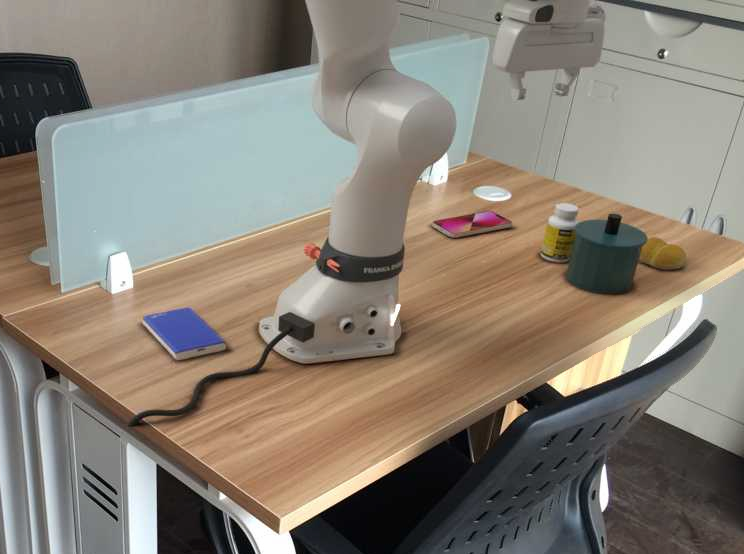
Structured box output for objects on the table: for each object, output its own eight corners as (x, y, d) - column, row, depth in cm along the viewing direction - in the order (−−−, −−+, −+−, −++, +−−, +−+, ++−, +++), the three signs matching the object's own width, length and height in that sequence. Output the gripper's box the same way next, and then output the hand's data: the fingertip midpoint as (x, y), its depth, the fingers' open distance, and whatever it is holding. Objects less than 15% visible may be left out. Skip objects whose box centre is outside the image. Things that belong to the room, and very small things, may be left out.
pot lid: (609, 256, 157) (616, 233, 154) (558, 231, 165) (563, 208, 163) (661, 246, 162) (667, 223, 159) (608, 221, 170) (614, 199, 168)
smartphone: (430, 221, 186) (490, 210, 192) (429, 226, 187) (489, 214, 192) (453, 234, 181) (514, 222, 186) (452, 239, 181) (513, 227, 187)
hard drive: (142, 316, 146) (175, 351, 137) (190, 306, 149) (226, 340, 140) (142, 325, 147) (176, 361, 138) (190, 315, 150) (226, 350, 141)
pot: (598, 298, 162) (610, 251, 157) (553, 273, 170) (563, 228, 165) (644, 287, 166) (657, 242, 161) (598, 263, 174) (609, 219, 169)
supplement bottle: (551, 264, 173) (563, 213, 167) (534, 253, 177) (545, 202, 172) (576, 262, 174) (588, 210, 169) (559, 250, 179) (570, 200, 173)
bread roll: (670, 275, 171) (676, 254, 169) (625, 258, 177) (631, 238, 174) (692, 264, 176) (699, 243, 173) (648, 248, 181) (654, 228, 179)
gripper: (593, 1, 155) (572, 88, 162) (495, 4, 146) (478, 96, 154) (622, 8, 150) (599, 98, 157) (523, 11, 141) (504, 106, 149)
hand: (539, 97), depth 155 cm, fingers open, 8 cm apart
